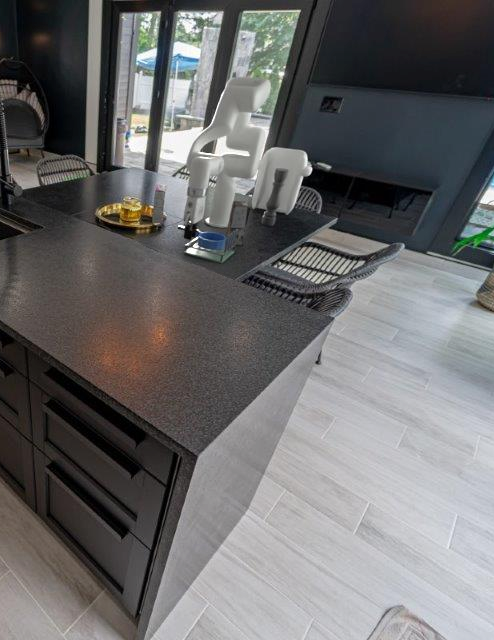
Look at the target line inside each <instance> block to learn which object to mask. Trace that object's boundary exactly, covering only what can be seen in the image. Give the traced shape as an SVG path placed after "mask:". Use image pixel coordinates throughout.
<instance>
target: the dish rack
mask: <svg viewBox="0 0 494 640" xmlns="http://www.w3.org/2000/svg"><path fill="white" fill-rule="evenodd" d="M237 230H238V229H236V230H235V231H233V234H232V233H230V237H229V235H228V236H227V240H226V242H225V247H224V248H223V249H219V250H208V249H205V248H201V247H200V246H198V244H197V240H198V236H196V237H194V238H193V239H191V240H190V241H189V242H188V243H187V244H185V245H184V247H185V249H184V251H183V254H185V255H189V256H193V257H196V258H200V259H202V260H203V259H204V260H208V261H210V262H215V263H218V264H223V263H224V262H225V261H226V260H227V259H228V258H230V257H231V256H232V255H233V254H234V253H235V248H236V246H237V245H236V244H234V243H235V239H236V234H237ZM234 234H235V235H234ZM231 237H232V238H231ZM233 238H234V239H233ZM228 240H229V242H228ZM230 241H231V243H230ZM195 242H196V243H195ZM232 242H233V244H232ZM193 243H195V244H193ZM192 244H193V245H192Z"/></svg>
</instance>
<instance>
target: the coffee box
mask: <svg viewBox="0 0 494 640" xmlns="http://www.w3.org/2000/svg"><path fill="white" fill-rule="evenodd" d="M251 209H252V206H251V205H250V202H248V201H243V200H234V201H233V204H232V208H231V213H230V218H229V222H228V227H226V233H225V237H226V240H227V236H228V235H229V237H230V233H232V234H233V231H235V230H236V229H238V230H237V234H236V239H235V243H234V244H236V246H237V245H238V246H242V245H243V240H244V237H245V234H246V232H245V231H246V229H247V225H248V221H249V218H250V217H249V216H250V213H251ZM234 235H235V234H234ZM231 238H232V237H231ZM233 239H234V238H233ZM228 242H229V240H228ZM230 243H231V241H230ZM232 244H233V242H232Z"/></svg>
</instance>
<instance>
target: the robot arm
mask: <svg viewBox="0 0 494 640" xmlns="http://www.w3.org/2000/svg"><path fill="white" fill-rule="evenodd" d="M271 90H272V84H271V81H270V79H268V78H264V77H263V78H262V77H250V76H249V77H248V76H236V77H235V76H234V77H231V78H230V79H228V80H227V81H226V84H225V88H224V90H223V91H222V93H221V95H220V98H219V101H218V104H217V106H216V110H215V112H214V115H213V118H212V121H211V123H210V125H209V126H208V127H206V128H205V129H204V130H202V131H201V132H200V133H199V134H198V135H197V137H196V138H194V140H193V141H192V143H191V146H190V149H189V152H188V154H187V158H186V163H185V166H186V170H187V171H188V172H189V175H188V184H187V189H186V196H187V198H186V202H185V206H184V212H183V226H184V227H185V231H184V230H183V231H184V233H183V239H185V240H189V241H192V238H196V236H195V234H196V233H192V231H193V230H192V228H193V229H197V230H198V226H199V222H200V221H202V219H204V216H205V215H204V214H205V208H206V198H207V194H208V189H209V181H210V177H215V176H216V179H215V186H214V191H213V196H212V202H211V208H210V213H209V217H207V218H206V219H205V224H206V225H208V226H209V227H214V228H221V229H223V228H224V229H225V228H226V229H227V227H228V222H229V218H230V213H231V208H232V204H233V201H235V196H236V193H237V182H236V180H235V178H239V179H246V180H250V179H253V178H254V177H256V174H257V173H258V170H257V169H258V165H259V161H260V160H261V157H262V154H263V153H262V152H263V148H264V144H265V140H266V133H265V130H264V129H263V128H262V127H259V126H251V125H250V122H251V118H252V114H253V113H255V112H257V111H258V110H259V109H260V108H261V107H262V106H263V105H264V104H265V102H266V101H267V100H268V98H269V97H270V94H271ZM224 137H225V147H226V148H227V149H229V150H234V151H240V152H241V151H242V152H248V154H243V153H238V152H224V153H222V154H221V155H219V154H212V153H206V152H201V150H202V148H204V146H205V145H207V144H208V143H210V142H213V141H216V140H218V139H222V138H224Z"/></svg>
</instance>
